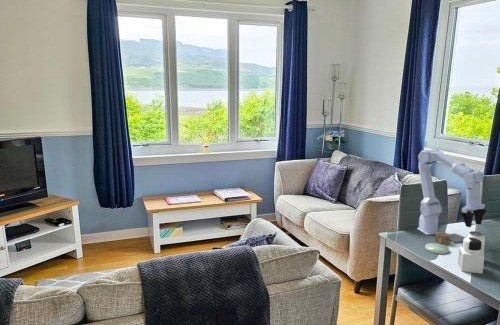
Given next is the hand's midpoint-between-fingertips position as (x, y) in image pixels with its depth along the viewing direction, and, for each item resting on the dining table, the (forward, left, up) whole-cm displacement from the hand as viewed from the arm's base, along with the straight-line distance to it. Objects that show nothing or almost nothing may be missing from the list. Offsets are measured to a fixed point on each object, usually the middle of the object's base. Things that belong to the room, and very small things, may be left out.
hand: (473, 225), depth 174 cm
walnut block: (-8, -9, -11) cm, 17 cm away
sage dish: (0, -17, -11) cm, 21 cm away
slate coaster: (-11, 0, -11) cm, 16 cm away
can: (+12, -7, -11) cm, 18 cm away
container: (+20, -15, -11) cm, 27 cm away
